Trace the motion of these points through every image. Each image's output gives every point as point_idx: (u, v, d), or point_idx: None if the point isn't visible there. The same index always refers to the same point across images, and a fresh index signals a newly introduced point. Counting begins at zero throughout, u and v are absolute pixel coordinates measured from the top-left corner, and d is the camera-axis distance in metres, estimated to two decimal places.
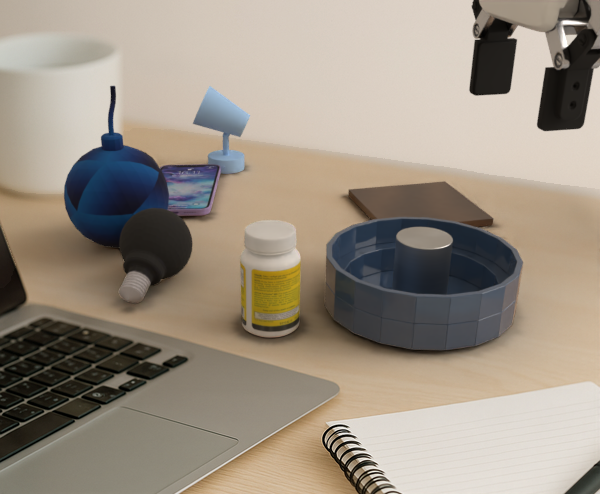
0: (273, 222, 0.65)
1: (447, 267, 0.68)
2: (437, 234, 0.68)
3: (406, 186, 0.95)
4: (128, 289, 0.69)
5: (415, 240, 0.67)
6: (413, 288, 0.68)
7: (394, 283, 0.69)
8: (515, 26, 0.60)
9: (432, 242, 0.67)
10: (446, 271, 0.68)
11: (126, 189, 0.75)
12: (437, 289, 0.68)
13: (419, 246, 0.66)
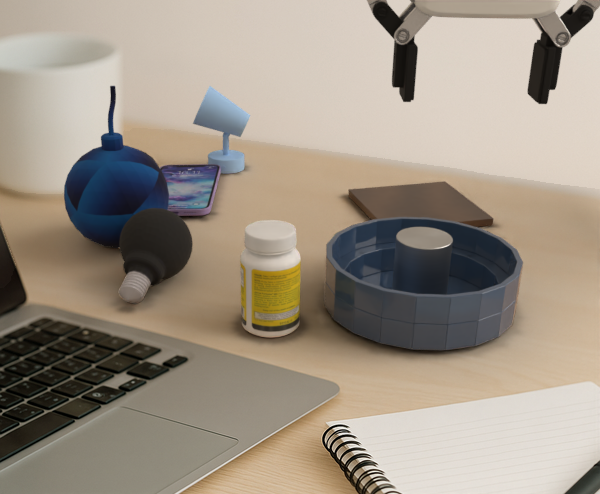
0: (273, 222, 0.65)
1: (447, 267, 0.68)
2: (437, 234, 0.68)
3: (406, 186, 0.95)
4: (128, 289, 0.69)
5: (415, 240, 0.67)
6: (413, 288, 0.68)
7: (394, 283, 0.69)
8: None
9: (432, 242, 0.67)
10: (446, 271, 0.68)
11: (126, 189, 0.75)
12: (437, 289, 0.68)
13: (419, 246, 0.66)
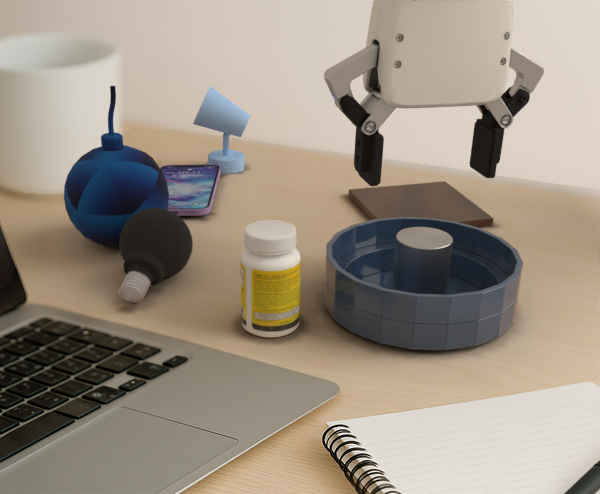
0: (273, 222, 0.65)
1: (447, 267, 0.68)
2: (437, 234, 0.68)
3: (406, 186, 0.95)
4: (128, 289, 0.69)
5: (415, 240, 0.67)
6: (413, 288, 0.68)
7: (394, 283, 0.69)
8: None
9: (432, 242, 0.67)
10: (446, 271, 0.68)
11: (126, 189, 0.75)
12: (437, 289, 0.68)
13: (419, 246, 0.66)
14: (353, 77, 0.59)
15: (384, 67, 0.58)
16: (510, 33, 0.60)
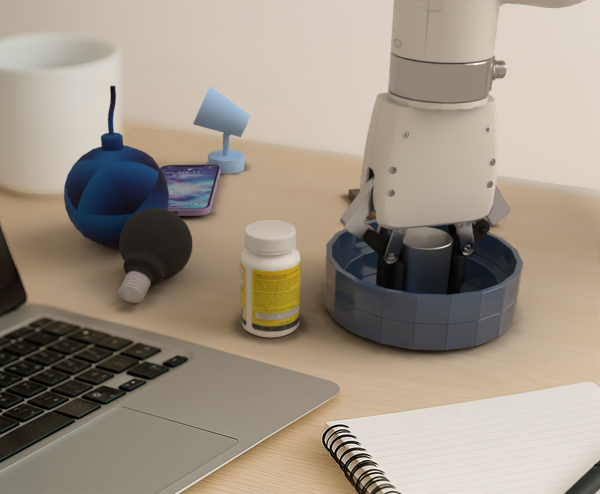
0: (273, 222, 0.65)
1: (447, 267, 0.68)
2: (437, 234, 0.68)
3: None
4: (128, 289, 0.69)
5: (415, 240, 0.67)
6: (413, 288, 0.68)
7: None
8: None
9: (432, 242, 0.67)
10: (446, 271, 0.68)
11: (126, 189, 0.75)
12: (437, 289, 0.68)
13: (419, 246, 0.66)
14: (365, 216, 0.65)
15: (378, 195, 0.63)
16: (496, 159, 0.64)
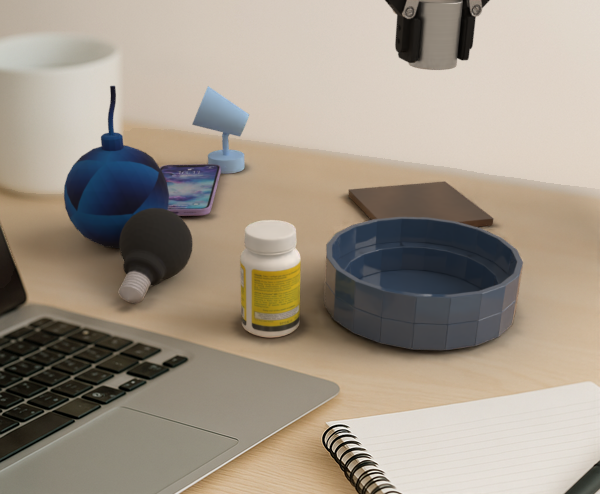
0: (273, 222, 0.65)
1: (458, 25, 0.77)
2: None
3: (406, 186, 0.95)
4: (128, 289, 0.69)
5: (429, 0, 0.77)
6: (428, 43, 0.77)
7: None
8: None
9: (444, 1, 0.76)
10: (457, 28, 0.77)
11: (126, 189, 0.75)
12: (449, 45, 0.77)
13: (433, 2, 0.75)
14: None
15: None
16: None
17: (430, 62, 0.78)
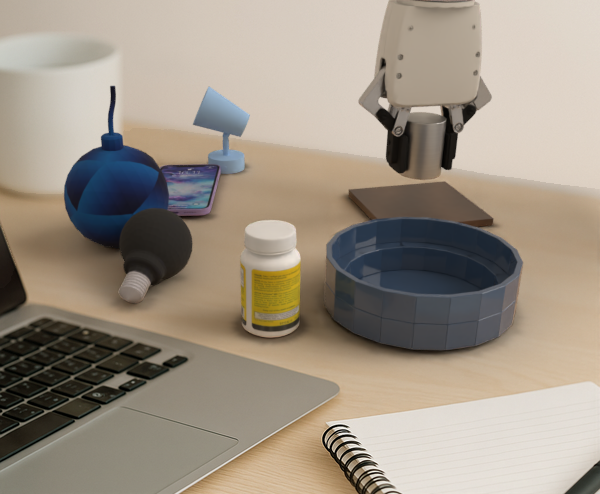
0: (273, 222, 0.65)
1: (442, 141, 0.86)
2: (434, 116, 0.87)
3: (406, 186, 0.95)
4: (128, 289, 0.69)
5: (416, 119, 0.86)
6: (415, 157, 0.86)
7: None
8: None
9: (430, 120, 0.85)
10: (441, 144, 0.86)
11: (126, 189, 0.75)
12: (434, 159, 0.86)
13: (420, 122, 0.84)
14: (378, 97, 0.83)
15: (389, 78, 0.81)
16: (480, 52, 0.82)
17: (417, 173, 0.87)
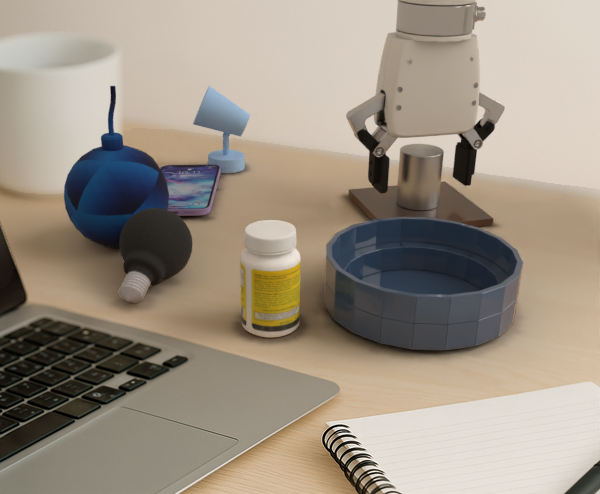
0: (273, 222, 0.65)
1: (439, 172, 0.88)
2: (432, 148, 0.88)
3: None
4: (128, 289, 0.69)
5: (414, 151, 0.87)
6: (413, 189, 0.87)
7: (398, 187, 0.89)
8: None
9: (427, 153, 0.87)
10: (439, 175, 0.88)
11: (126, 189, 0.75)
12: (432, 190, 0.88)
13: (417, 155, 0.86)
14: (367, 117, 0.84)
15: (388, 110, 0.83)
16: (478, 83, 0.84)
17: (415, 204, 0.88)
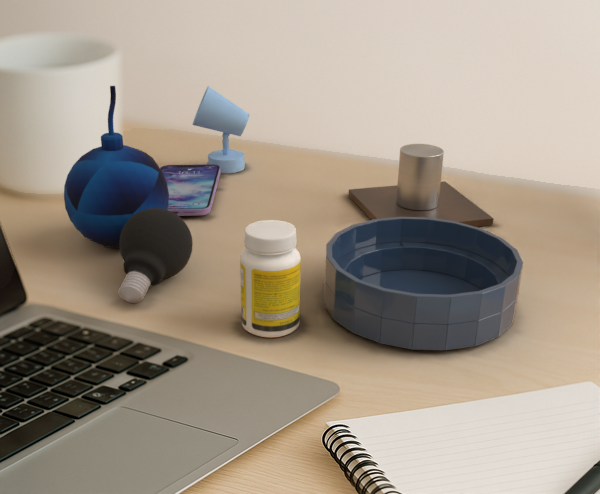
0: (273, 222, 0.65)
1: (439, 172, 0.88)
2: (432, 148, 0.88)
3: None
4: (128, 289, 0.69)
5: (414, 151, 0.87)
6: (413, 189, 0.87)
7: (398, 187, 0.89)
8: None
9: (427, 153, 0.87)
10: (439, 175, 0.88)
11: (126, 189, 0.75)
12: (432, 190, 0.88)
13: (417, 155, 0.86)
14: None
15: None
16: None
17: (415, 204, 0.88)
